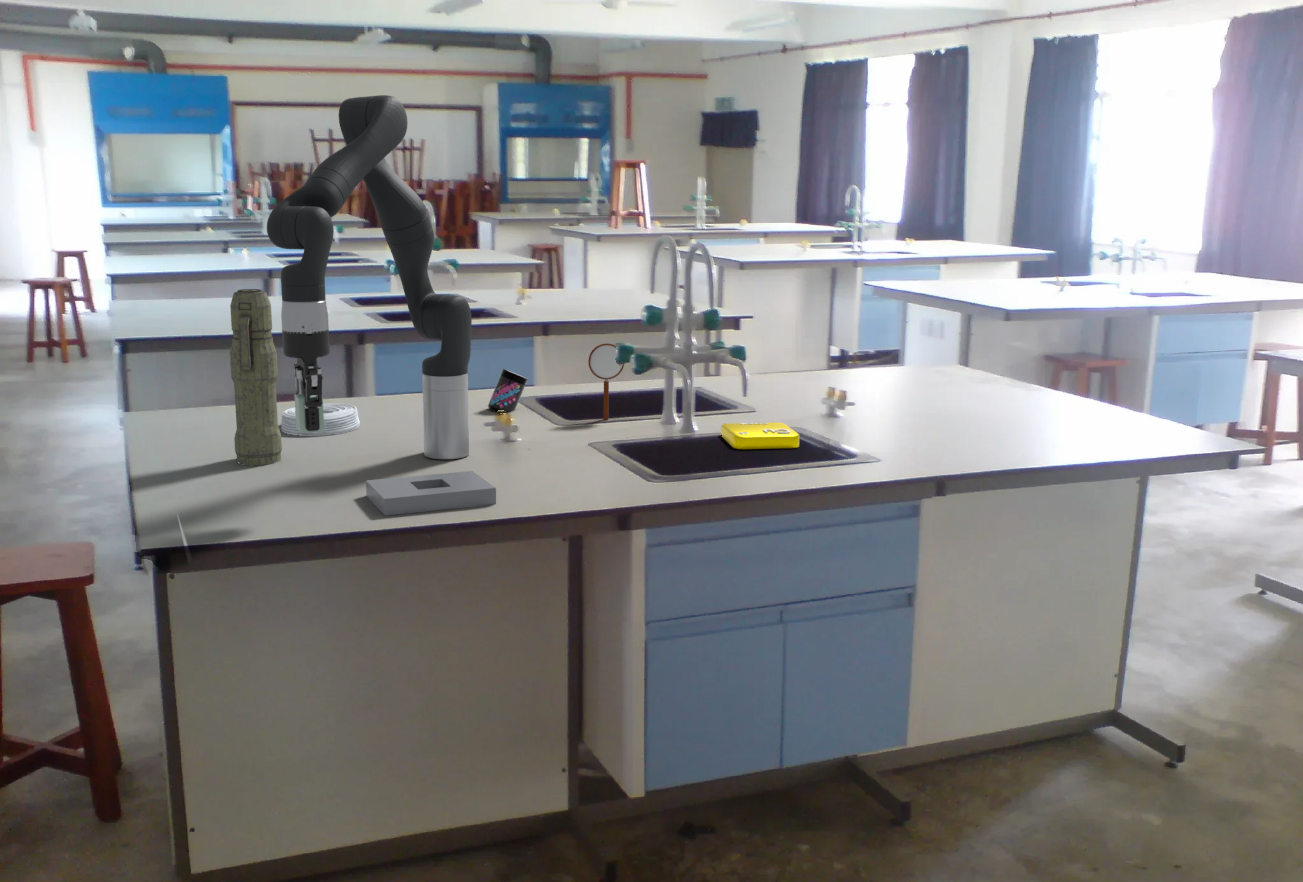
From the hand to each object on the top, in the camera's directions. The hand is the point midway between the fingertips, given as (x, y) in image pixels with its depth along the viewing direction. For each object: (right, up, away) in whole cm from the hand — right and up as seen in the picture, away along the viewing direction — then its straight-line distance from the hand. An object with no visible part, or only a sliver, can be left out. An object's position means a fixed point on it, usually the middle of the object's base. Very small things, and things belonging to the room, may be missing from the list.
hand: (310, 427), depth 200 cm
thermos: (-21, -7, +37) cm, 43 cm away
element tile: (+82, -4, +62) cm, 103 cm away
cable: (-17, -1, +68) cm, 70 cm away
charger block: (0, 0, 0) cm, 1 cm away
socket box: (+18, -13, +12) cm, 25 cm away
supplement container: (+23, +4, +91) cm, 94 cm away
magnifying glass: (+47, +1, +81) cm, 94 cm away
